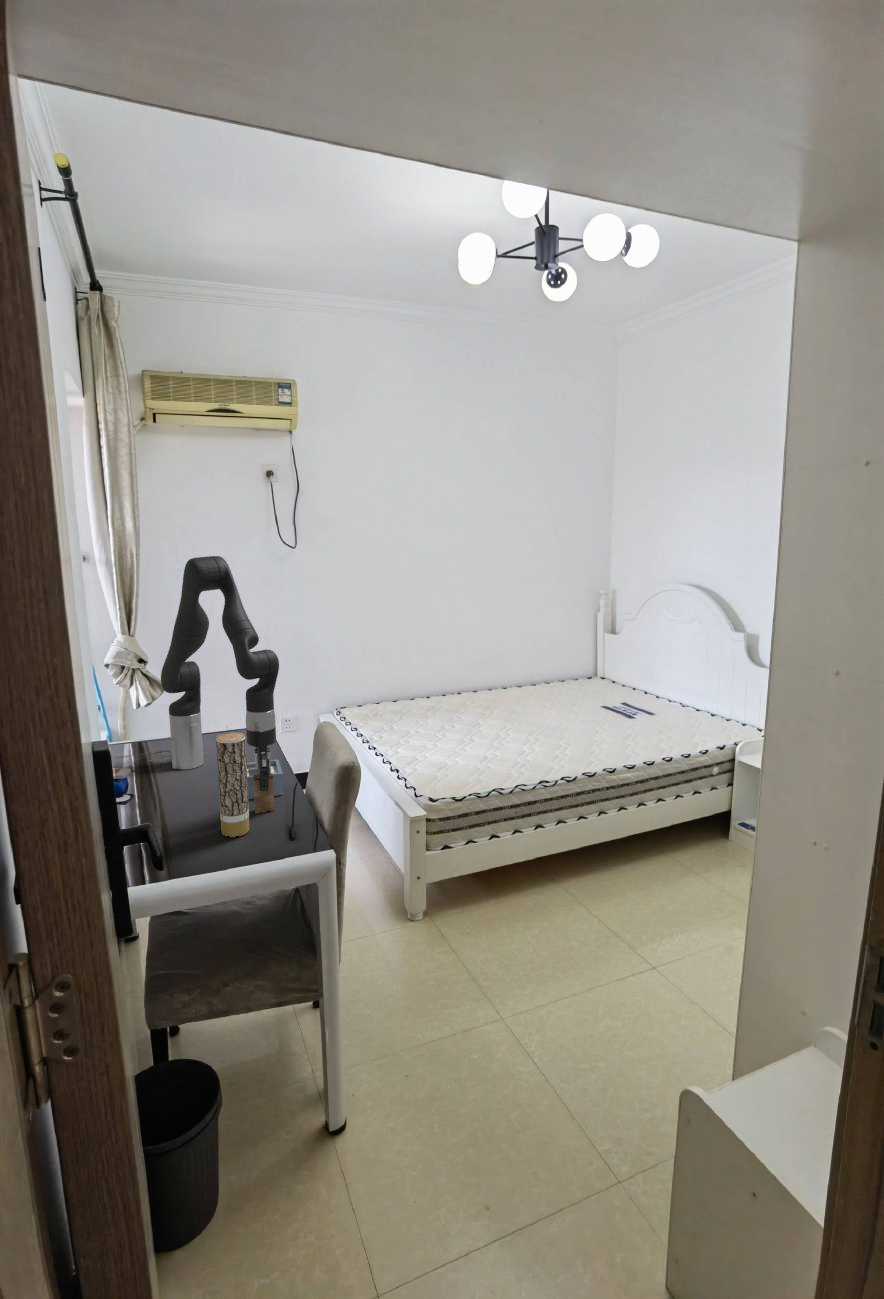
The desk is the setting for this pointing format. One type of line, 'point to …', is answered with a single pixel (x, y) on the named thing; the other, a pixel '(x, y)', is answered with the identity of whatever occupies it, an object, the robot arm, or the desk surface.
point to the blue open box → (273, 769)
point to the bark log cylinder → (232, 784)
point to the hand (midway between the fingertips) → (263, 787)
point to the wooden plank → (263, 795)
